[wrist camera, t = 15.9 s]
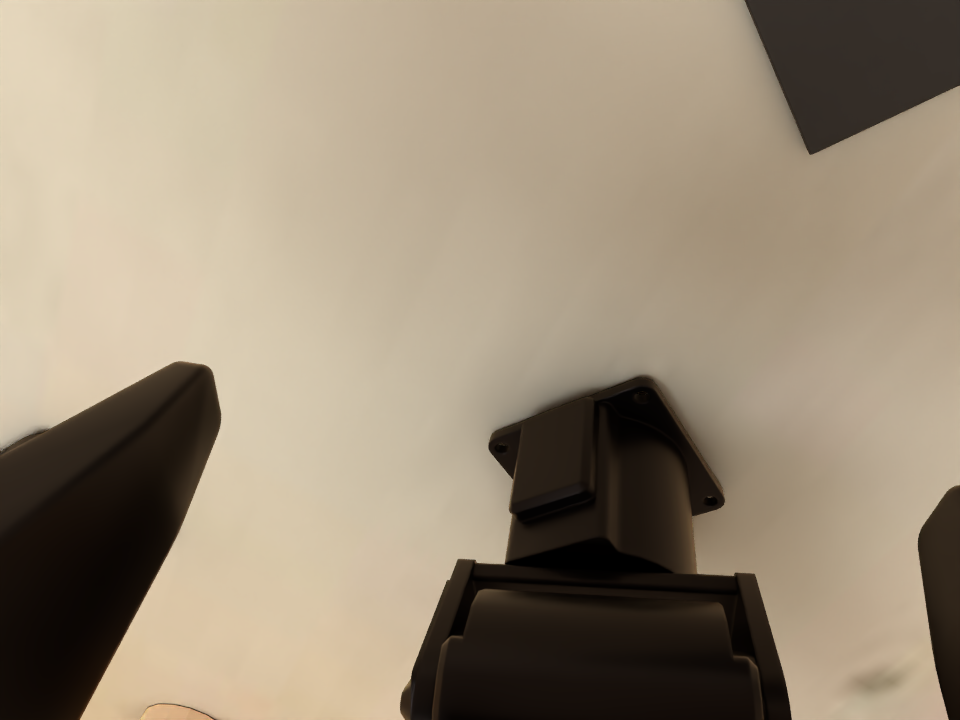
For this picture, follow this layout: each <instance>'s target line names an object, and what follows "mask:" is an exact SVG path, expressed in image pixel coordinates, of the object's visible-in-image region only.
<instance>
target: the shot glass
mask: <svg viewBox="0 0 960 720" xmlns="http://www.w3.org/2000/svg"><path fill="white" fill-rule="evenodd" d="M140 720H214V719H212V718H210V717H209V716H207V715H205V714H202V713H200V712H198V711H195V710H193V709H190V708H186V707H181V706H177V705H164V704H158V705H154V706H151V707H148V708H147V709H146V711H145V713H144V714H143V716H142V717H141V719H140Z"/></svg>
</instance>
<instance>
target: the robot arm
mask: <svg viewBox="0 0 960 720" xmlns="http://www.w3.org/2000/svg"><path fill="white" fill-rule="evenodd" d="M640 391H644V392H647V394H646V395H638V394H636V393H637V392H640ZM220 424H221V410H220V405H219V400H218V395H217V390H216V385H215V380H214V375H213V372H212V370H211V369H210V368H209V367H208V366H206V365H202V364H196V363H189V362H183V361H178V362H174V363H172V364H170V365H168V366H166V367H164V368H162V369H161V370H159V371H157V372H155V373H153V374H151V375H149V376H147V377H146V378H144V379H142V380H140V381H138V382H136V383H134V384H133V385H131V386H129V387H127V388H125V389H123V390H121V391H120V392H118V393H116V394H114V395H112V396H110V397H108V398H107V399H105V400H103V401H101V402H99V403H97V404H95V405H94V406H92V407H90V408H88V409H86V410H84V411H82V412H81V413H79V414H77V415H75V416H73V417H71V418H69V419H68V420H66V421H64V422H62V423H60V424H58V425H56V426H55V427H53V428H51V429H49V430H47V431H45V432H43V433H42V434H40V435H38V436H36V437H34V438H32V439H30V440H29V441H27V442H25V443H23V444H21V445H19V446H17V447H16V448H14V449H12V450H10V451H8V452H6V453H4V454H3V455H1V456H0V720H80V718H81V716H82V714H83V712H84V711H85V709H86V707H87V705H88V703H89V701H90V699H91V697H92V696H93V694H94V692H95V690H96V688H97V686H98V684H99V682H100V681H101V679H102V677H103V675H104V673H105V671H106V669H107V667H108V665H109V664H110V662H111V660H112V658H113V656H114V654H115V652H116V650H117V649H118V647H119V645H120V643H121V641H122V639H123V637H124V635H125V634H126V632H127V630H128V628H129V626H130V624H131V622H132V620H133V619H134V617H135V615H136V613H137V611H138V609H139V607H140V605H141V604H142V602H143V600H144V598H145V596H146V594H147V592H148V590H149V589H150V587H151V585H152V583H153V581H154V579H155V577H156V575H157V574H158V572H159V570H160V568H161V566H162V564H163V562H164V560H165V559H166V557H167V555H168V553H169V551H170V549H171V547H172V545H173V543H174V541H175V539H176V537H177V535H178V533H179V530H180V528H181V526H182V523H183V521H184V519H185V516H186V514H187V511H188V509H189V506H190V504H191V501H192V498H193V496H194V493H195V491H196V488H197V486H198V483H199V481H200V478H201V476H202V473H203V470H204V468H205V465H206V463H207V460H208V458H209V455H210V453H211V450H212V448H213V445H214V442H215V440H216V437H217V435H218V432H219V429H220ZM498 443H503V444H506V445H505V446H503V445H500V444H498ZM489 451H490V452H491V454H492V455H493V456H494V457H495V458H496V460H497V461H498V462H499V463H500V464H501V466H502V467H503V468H504V469H505V470H506V472H507V473H508V474H509V475H510V476H511V478H512V479H513V485H512V492H511V498H510V504H509V511H510V513H511V514H512V519H511V526H510V533H509V539H508V546H507V552H506V559H505V564H487V563H477V562H476V560H469V559H458V560H457V563H456V566H455V568H454V571H453V573H452V576H451V579H450V580H447V582H446V585H445V587H444V590H443V592H442V595H441V597H440V600H439V603H438V605H437V608H436V610H435V613H434V616H433V618H432V621H431V623H430V626H429V628H428V631H427V634H426V636H425V639H424V641H423V644H422V647H421V649H420V652H419V654H418V657H417V659H416V662H415V665H414V667H413V671H412V676H411V679H410V681H409V682H408V684H407V685H406V687H405V689H404V690H403V692H402V696H401V702H400V711H401V714H402V716H403V717H404V719H405V720H792V718H791V710H790V703H789V698H788V692H787V687H786V682H785V678H784V674H783V670H782V667H781V663H780V660H779V656H778V653H777V649H776V646H775V642H774V639H773V635H772V632H771V628H770V625H769V621H768V618H767V614H766V611H765V607H764V604H763V600H762V597H761V594H760V590H759V587H758V583H757V580H756V576H755V574H750V573H735V574H734V576H725V575H705V574H697V565H696V554H695V543H694V532H693V521H692V516H696V515H699V514H703V513H706V512H710V511H713V510H717V509H719V508H721V507H722V506H723V505H724V503H725V498H724V492H723V489H722V487H721V486H720V484H719V483H718V481H717V479H716V478H715V476H714V475H713V473H712V472H711V470H710V468H709V467H708V465H707V464H706V462H705V461H704V459H703V457H702V456H701V454H700V453H699V451H698V450H697V448H696V446H695V445H694V443H693V442H692V440H691V439H690V437H689V435H688V434H687V432H686V431H685V429H684V428H683V426H682V424H681V423H680V421H679V420H678V418H677V417H676V415H675V414H674V412H673V410H672V409H671V407H670V406H669V404H668V403H667V401H666V399H665V398H664V396H663V395H662V393H661V392H660V390H659V388H658V387H657V385H656V384H655V383H654V382H653V381H652V380H650V379H647V378H637V379H633V380H631V381H628V382H625V383H623V384H620V385H618V386H615V387H612V388H610V389H607V390H604V391H602V392H599V393H596V394H594V395H591V396H588V397H584V398H581V399H578V400H576V401H573V402H570V403H568V404H565V405H562V406H560V407H557V408H555V409H552V410H549V411H547V412H544V413H541V414H539V415H536V416H533V417H531V418H528V419H526V420H524V421H522V422H520V423H517V424H515V425H512V426H509V427H507V428H504V429H501V430H499V431H496V432H494V433H493V434H492V435H491V437H490V440H489ZM710 496H712V497H711V498H708V497H710ZM918 552H919V559H920V566H921V573H922V580H923V587H924V594H925V601H926V608H927V615H928V622H929V629H930V636H931V643H932V650H933V655H934V661H935V666H936V671H937V675H938V679H939V684H940V688H941V692H942V696H943V699H944V703H945V707H946V711H947V715H948V719H949V720H960V485H958V486H954V487H952V488H951V489H949V490H948V491H947V492H946V494H945V495H944V497H943V498H942V499H941V501H940V502H939V504H938V505H937V507H936V508H935V509H934V511H933V512H932V514H931V515H930V517H929V518H928V519H927V521H926V522H925V524H924V525H923V527H922V529H921V531H920V534H919V538H918Z"/></svg>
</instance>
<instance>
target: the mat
mask: <svg viewBox="0 0 960 720" xmlns="http://www.w3.org/2000/svg"><path fill="white" fill-rule="evenodd" d="M745 2H746V4H747V7H748V9H749V12H750V14H751V16H752V19H753V21H754V24H755V26H756V28H757V31H758V33H759V35H760V38H761V40H762V43H763V45H764V47H765V50H766V52H767V55H768V57H769V59H770V62H771V64H772V66H773V69H774V71H775V74H776V76H777V78H778V81H779V83H780V86H781V88H782V90H783V93H784V95H785V97H786V100H787V102H788V105H789V107H790V109H791V112H792V114H793V117H794V119H795V121H796V124H797V126H798V128H799V131H800V133H801V136H802V138H803V140H804V143H805V145H806V148H807V150H808V152H809V154H810V155H812V154H814V153H816V152H819V151H821V150H823V149H825V148H827V147H829V146H831V145H833V144H836V143H838V142H840V141H842V140H844V139H846V138H848V137H850V136H853V135H855V134H857V133H859V132H861V131H863V130H865V129H867V128H870V127H872V126H874V125H876V124H878V123H880V122H882V121H884V120H887V119H889V118H891V117H893V116H895V115H897V114H899V113H901V112H904V111H906V110H908V109H910V108H912V107H914V106H916V105H918V104H921V103H923V102H925V101H927V100H929V99H931V98H933V97H935V96H938V95H940V94H942V93H944V92H946V91H948V90H950V89H952V88H955V87H957V86H959V85H960V0H745Z"/></svg>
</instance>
